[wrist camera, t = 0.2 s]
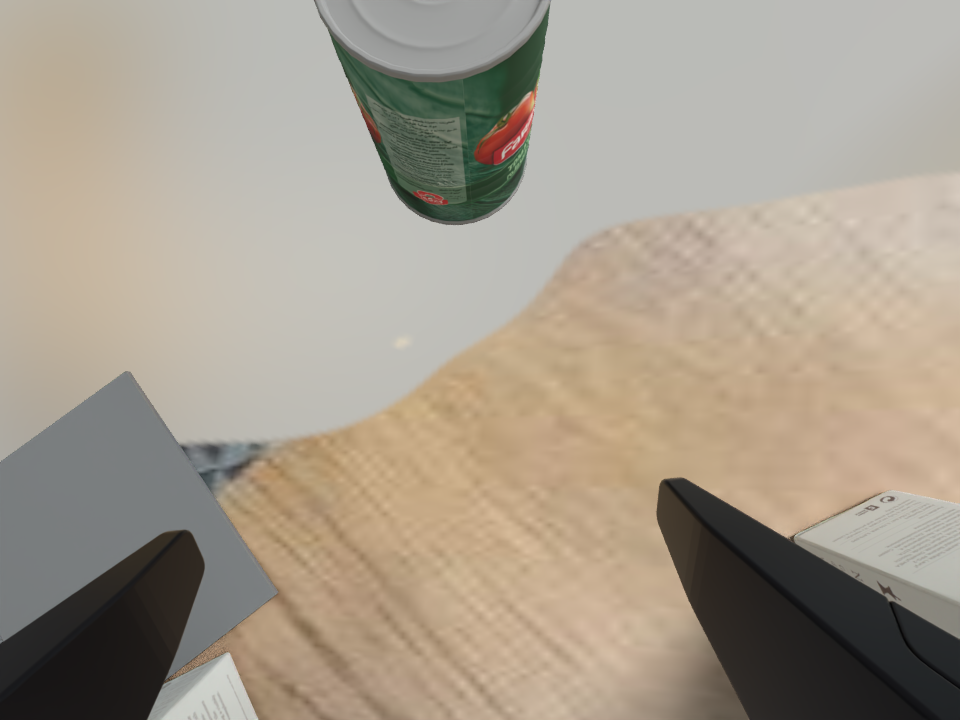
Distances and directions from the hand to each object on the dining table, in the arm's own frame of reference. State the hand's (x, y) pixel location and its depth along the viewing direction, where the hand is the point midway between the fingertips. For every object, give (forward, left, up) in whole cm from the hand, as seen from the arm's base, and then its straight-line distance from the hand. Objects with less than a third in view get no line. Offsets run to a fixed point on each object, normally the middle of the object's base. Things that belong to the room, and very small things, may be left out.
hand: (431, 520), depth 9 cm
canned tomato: (+13, -9, -15) cm, 22 cm away
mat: (+7, +18, -15) cm, 24 cm away
